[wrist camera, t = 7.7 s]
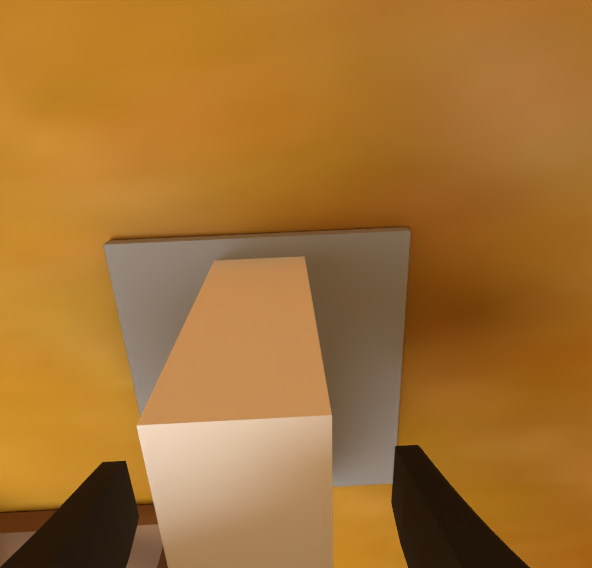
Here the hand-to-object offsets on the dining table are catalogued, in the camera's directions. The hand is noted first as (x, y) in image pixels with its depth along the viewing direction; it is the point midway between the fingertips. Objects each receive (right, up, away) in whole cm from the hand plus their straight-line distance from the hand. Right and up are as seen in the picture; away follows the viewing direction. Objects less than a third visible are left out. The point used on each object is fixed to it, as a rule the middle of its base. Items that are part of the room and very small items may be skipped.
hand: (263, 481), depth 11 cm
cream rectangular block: (0, +2, +4) cm, 5 cm away
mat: (0, +2, +5) cm, 5 cm away
